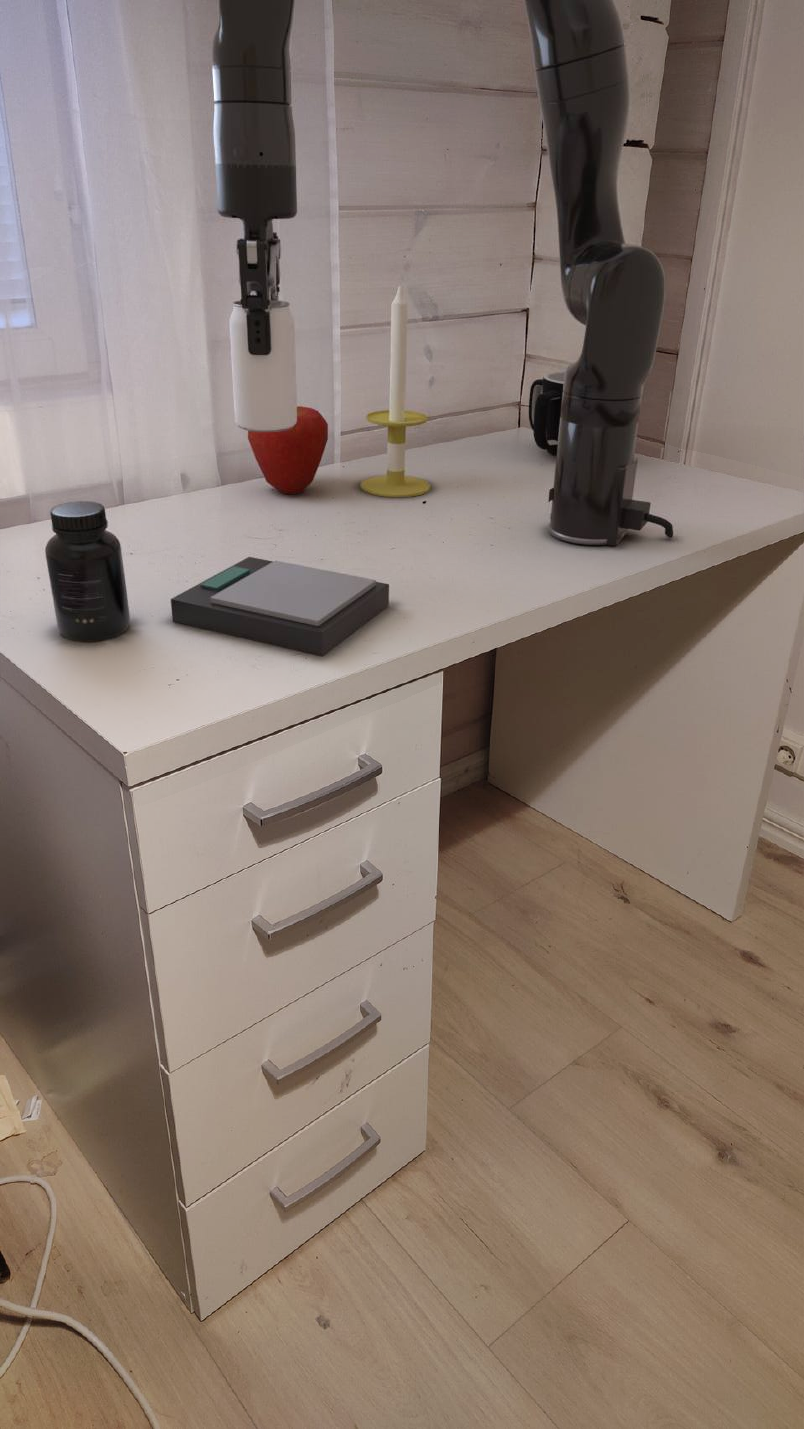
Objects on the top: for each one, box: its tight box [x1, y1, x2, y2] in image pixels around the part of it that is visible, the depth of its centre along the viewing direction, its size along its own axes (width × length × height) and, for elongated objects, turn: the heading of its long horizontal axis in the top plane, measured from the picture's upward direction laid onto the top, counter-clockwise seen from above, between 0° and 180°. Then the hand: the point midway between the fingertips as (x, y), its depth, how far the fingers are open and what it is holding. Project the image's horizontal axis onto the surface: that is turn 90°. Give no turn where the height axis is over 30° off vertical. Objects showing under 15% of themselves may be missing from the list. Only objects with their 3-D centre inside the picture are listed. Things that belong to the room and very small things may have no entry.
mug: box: [528, 370, 566, 457], centre depth 160 cm, size 16×16×12 cm
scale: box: [170, 556, 390, 657], centre depth 101 cm, size 17×14×3 cm
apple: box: [247, 405, 329, 495], centre depth 138 cm, size 11×11×12 cm
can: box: [229, 299, 298, 432], centre depth 103 cm, size 6×6×12 cm
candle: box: [359, 281, 431, 498], centre depth 137 cm, size 10×10×27 cm
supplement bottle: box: [44, 500, 131, 642], centre depth 95 cm, size 7×7×12 cm
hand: (263, 348), depth 102 cm, fingers closed on can, 6 cm apart
